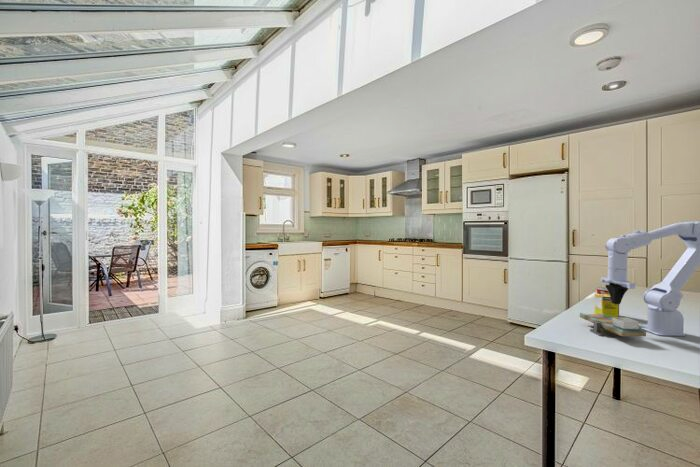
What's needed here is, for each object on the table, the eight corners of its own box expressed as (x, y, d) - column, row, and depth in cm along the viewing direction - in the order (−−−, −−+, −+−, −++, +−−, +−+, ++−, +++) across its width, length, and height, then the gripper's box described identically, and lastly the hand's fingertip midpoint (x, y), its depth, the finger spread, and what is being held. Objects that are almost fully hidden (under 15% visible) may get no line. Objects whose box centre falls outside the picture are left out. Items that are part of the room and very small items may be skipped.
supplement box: (618, 323, 132) (618, 297, 132) (602, 322, 133) (602, 296, 133) (610, 319, 138) (610, 294, 138) (594, 318, 139) (594, 293, 139)
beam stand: (590, 331, 122) (590, 320, 122) (623, 331, 121) (623, 320, 121) (599, 335, 117) (599, 324, 117) (634, 336, 116) (634, 324, 116)
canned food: (603, 317, 141) (603, 290, 141) (593, 312, 149) (593, 287, 148) (623, 317, 139) (623, 290, 139) (611, 313, 147) (611, 287, 147)
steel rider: (626, 326, 115) (627, 317, 115) (638, 331, 110) (638, 321, 110) (612, 326, 116) (612, 317, 115) (623, 331, 111) (623, 321, 110)
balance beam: (579, 317, 131) (579, 312, 131) (600, 317, 131) (600, 312, 131) (621, 336, 109) (621, 331, 109) (646, 336, 109) (646, 331, 109)
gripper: (593, 266, 130) (592, 299, 130) (621, 271, 115) (619, 308, 116) (611, 266, 129) (610, 299, 130) (641, 271, 115) (640, 308, 115)
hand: (616, 303), depth 123 cm, fingers closed
